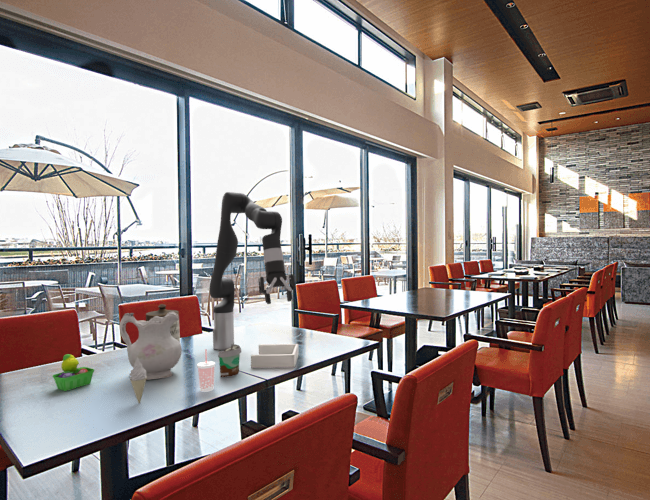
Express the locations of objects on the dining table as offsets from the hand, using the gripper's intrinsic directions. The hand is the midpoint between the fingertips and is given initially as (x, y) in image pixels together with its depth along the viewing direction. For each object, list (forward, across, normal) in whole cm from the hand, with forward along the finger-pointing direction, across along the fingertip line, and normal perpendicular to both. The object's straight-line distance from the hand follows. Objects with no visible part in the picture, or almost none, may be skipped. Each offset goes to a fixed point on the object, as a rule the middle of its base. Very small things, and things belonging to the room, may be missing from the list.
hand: (279, 302), depth 161 cm
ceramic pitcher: (+20, +43, -31) cm, 57 cm away
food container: (+24, +16, -16) cm, 33 cm away
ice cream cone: (+26, +51, -3) cm, 58 cm away
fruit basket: (+19, +69, -34) cm, 79 cm away
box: (+23, -4, -22) cm, 32 cm away
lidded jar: (+12, +33, -67) cm, 75 cm away
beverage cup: (+26, +30, -4) cm, 40 cm away
